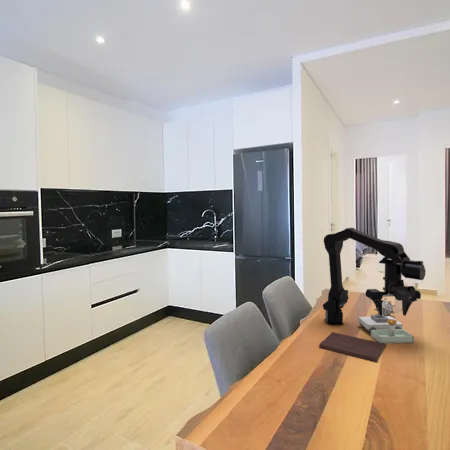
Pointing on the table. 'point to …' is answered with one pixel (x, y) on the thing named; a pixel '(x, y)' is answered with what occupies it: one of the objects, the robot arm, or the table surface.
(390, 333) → the pin
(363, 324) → the white socket plate
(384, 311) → the game die
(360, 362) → the table surface
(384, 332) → the tray
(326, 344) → the notebook
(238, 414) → the table surface
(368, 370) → the table surface
